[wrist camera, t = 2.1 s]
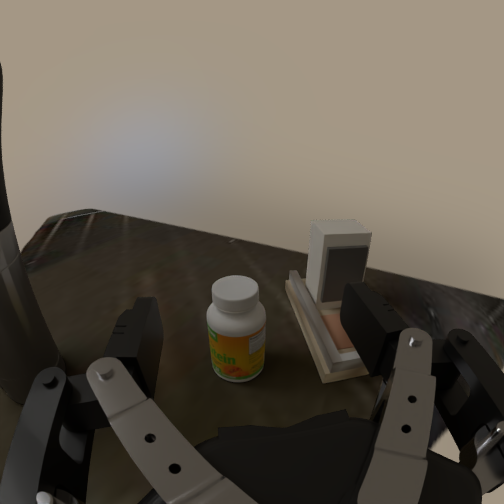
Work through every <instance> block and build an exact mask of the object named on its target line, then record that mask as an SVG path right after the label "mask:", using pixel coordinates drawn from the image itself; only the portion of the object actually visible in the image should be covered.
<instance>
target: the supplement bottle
mask: <svg viewBox="0 0 504 504" xmlns="http://www.w3.org/2000/svg"><path fill="white" fill-rule="evenodd" d="M212 300H213V303H212V304H211V305H210V307H209V308H208V311H207V326H208V334H209V342H210V350H211V359H212V365H213V369H214V371H215V372H216V374H217V375H218V376H220V377H221V378H223V379H225V380H227V381H231V382H245V381H249V380H251V379H253V378H255V377H256V376H257V375H259V373H260V372H261V371H262V369H263V366H264V355H265V330H266V312H265V309H264V307H263V305H262V304H261V303H260V302H259V301H258V300H259V288H258V284H257V283H256V282H255V281H254V280H253V279H251V278H248V277H245V276H227V277H224V278H221V279H219V280H217V281H216V282H215V283H214V284H213V286H212Z"/></svg>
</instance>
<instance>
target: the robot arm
mask: <svg viewBox="0 0 504 504" xmlns="http://www.w3.org/2000/svg"><path fill="white" fill-rule="evenodd" d="M2 95H3V75H2V68H1V63H0V387H1V388H3V389H4V390H5V391H6V393H7V394H8V395H9V397H10V398H11V399H12V400H14V401H15V402H17V403H20V404H24V407H23V410H22V413H21V415H20V418H19V421H18V424H17V427H16V430H15V433H14V436H13V439H12V443H11V446H10V449H9V453H8V457H7V460H6V464H5V468H4V472H3V477H2V481H1V486H0V504H86V493H87V483H88V474H89V466H90V458H91V451H92V445H93V439H94V433H95V429H99V428H104V427H110V426H112V428H113V430H114V431H115V433H116V435H117V436H118V438H119V439H120V441H121V443H122V444H123V446H124V447H125V449H126V450H127V452H128V453H129V455H130V456H131V458H132V459H133V461H134V462H135V463H136V465H137V466H138V468H139V469H140V470H141V472H142V473H143V475H144V476H145V477H146V479H147V480H148V481H149V483H150V484H151V485H152V486H153V489H152V490H151V491H150V492H149V493H148V494H147V495H146V496H145V497H144V498H143V499H142V500H141V501H140V502H139V503H138V504H482V503H481V502H482V495H483V494H485V493H490V492H492V491H494V490H495V489H496V488H498V487H500V486H501V485H502V484H503V483H504V373H503V372H502V371H501V369H500V368H499V367H498V365H497V364H496V363H495V362H494V360H493V359H492V358H491V357H490V355H489V354H488V353H487V352H486V351H485V349H484V348H483V347H482V346H481V345H480V343H479V342H478V341H477V340H476V339H475V338H474V336H473V335H472V334H470V333H469V332H468V331H465V330H463V329H453V330H451V331H450V332H449V334H448V336H447V338H446V340H432V339H431V337H430V336H429V335H428V334H427V333H426V332H425V331H423V330H420V329H417V328H409V327H408V325H407V324H406V323H405V322H404V321H403V319H402V318H401V317H400V316H399V315H398V313H397V312H396V311H394V309H393V308H392V306H391V305H389V303H388V302H387V301H386V299H385V298H384V297H383V296H381V295H380V294H378V293H376V292H375V291H371V290H370V289H369V288H368V286H367V285H366V284H365V283H364V282H353V283H347V284H346V285H345V287H344V292H343V298H342V304H341V309H340V322H341V325H342V327H343V329H344V330H345V332H346V334H347V336H348V337H349V339H350V341H351V342H352V344H353V346H354V348H355V349H356V351H357V353H358V355H359V356H360V358H361V360H362V362H363V364H364V365H365V367H366V369H367V371H368V372H369V374H370V376H371V377H374V376H378V375H382V377H383V379H382V382H381V384H380V388H379V391H378V395H377V398H376V401H375V405H374V408H373V411H372V414H371V417H370V419H369V420H367V419H362V418H354V417H349V416H348V414H347V411H346V409H345V410H340V411H336V412H332V413H327V414H322V415H317V416H315V417H312V418H310V419H308V420H305V421H303V422H300V423H298V424H295V425H293V426H290V427H287V428H276V427H264V426H253V425H248V426H236V427H221V428H218V436H217V437H214V438H211V439H208V440H206V441H204V442H202V443H200V444H198V445H196V446H195V447H193V446H192V445H191V444H190V443H189V442H188V441H187V440H186V439H185V438H184V437H183V436H182V434H181V433H180V432H179V431H178V430H177V429H176V428H175V426H174V425H173V424H172V423H171V422H170V421H169V420H168V418H167V417H166V416H165V415H164V414H163V412H162V411H161V410H160V409H159V407H158V406H157V405H156V404H155V402H154V394H155V387H156V380H157V374H158V368H159V362H160V356H161V350H162V345H163V326H162V322H161V318H160V313H159V309H158V304H157V300H156V298H155V297H138V298H137V299H136V302H135V304H134V307H133V309H130V310H125V311H124V312H123V313H122V314H121V315H120V316H119V318H118V320H117V323H116V325H115V327H114V330H113V334H112V335H111V338H110V340H109V343H108V345H107V348H106V351H105V353H104V356H103V358H101V359H98V360H96V361H95V362H93V363H92V364H91V365H90V366H89V368H88V369H87V373H84V374H80V375H74V376H69V377H67V376H66V374H65V370H66V367H65V362H64V360H63V358H62V356H61V354H60V352H59V350H58V348H57V346H56V344H55V342H54V340H53V338H52V335H51V333H50V331H49V329H48V327H47V324H46V322H45V320H44V317H43V315H42V313H41V310H40V308H39V305H38V303H37V300H36V298H35V295H34V292H33V290H32V287H31V284H30V281H29V278H28V275H27V272H26V269H25V266H24V263H23V260H22V256H21V253H20V250H19V246H18V243H17V239H16V235H15V232H14V227H13V223H12V220H11V214H10V210H9V205H8V199H7V194H6V187H5V180H4V172H3V164H2V149H1V118H2ZM460 374H462V375H463V377H464V378H465V380H466V381H467V383H468V384H469V386H470V396H469V398H468V396H467V395H466V393H465V391H464V390H463V388H462V387H461V385H460V384H459V382H458V381H457V379H458V378H459V376H460ZM434 404H435V405H436V407H437V409H438V411H439V413H440V414H441V416H442V418H443V420H444V422H445V424H446V425H447V427H448V429H449V431H450V433H451V435H452V437H453V439H454V441H455V443H456V445H457V446H458V449H459V451H460V454H459V460H460V462H459V463H457V462H455V461H453V460H451V459H448V458H446V457H444V456H442V455H440V454H437V453H435V452H433V451H431V450H429V449H427V446H428V441H429V435H430V429H431V422H432V415H433V407H434Z"/></svg>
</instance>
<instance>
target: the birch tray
mask: <svg viewBox="0 0 504 504" xmlns="http://www.w3.org/2000/svg"><path fill="white" fill-rule="evenodd" d="M305 284H306V279H301V278H300V276H299V274H298V272H297V270H294V271H290V276H289V280H286V285H285V290H286V292H287V295H288V297H289V300H290V302H291V304H292V307H293V309H294V312H295V314H296V317H297V319H298V322H299V324H300V327H301V329H302V332H303V334H304V337H305V339H306V342H307V345H308V347H309V350H310V352H311V355H312V357H313V360H314V362H315V365H316V367H317V370H318V373H319V375H320V378H321V380H322V383H329V382H334V381H339V380H344V379H349V378H354V377H358V376H362V375H367V374H369V372H368V371H367V369H366V367H365V365H364V364H363V362H362V360H361V358H360V356H359V355H358V353H357V351H356V349H355V348H354V346H353V344H352V342H351V341H350V339H349V337H348V336H347V334H346V332H345V330H344V329H343V327H342V325H341V322H340V309H341V307H340V308H331V309H323V310H317V309H316V307H315V305H314V303H313V301H312V299H311V297H310V295H309V293H308V291H307V289H306V287H305Z"/></svg>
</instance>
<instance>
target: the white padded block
mask: <svg viewBox="0 0 504 504" xmlns="http://www.w3.org/2000/svg"><path fill="white" fill-rule="evenodd" d="M371 235H372V233H371V232H370V231H369V230H368V229H366V228H365V227H364V226H363V225H361V224H360V223H358V222H357V221H356V220H354V219H352V220H312V221H311V229H310V242H309V253H308V264H307V274H306V284H305V287H306V289H307V291H308V293H309V295H310V297H311V299H312V301H313V303H314V305H315V307H316V309H317V310H323V309H331V308H340V307H341V304H342V298H343V292H344V287H345V285H346V284H347V283H353V282H363V280H364V275H365V270H366V264H367V259H368V254H369V247H370V242H371Z"/></svg>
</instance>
